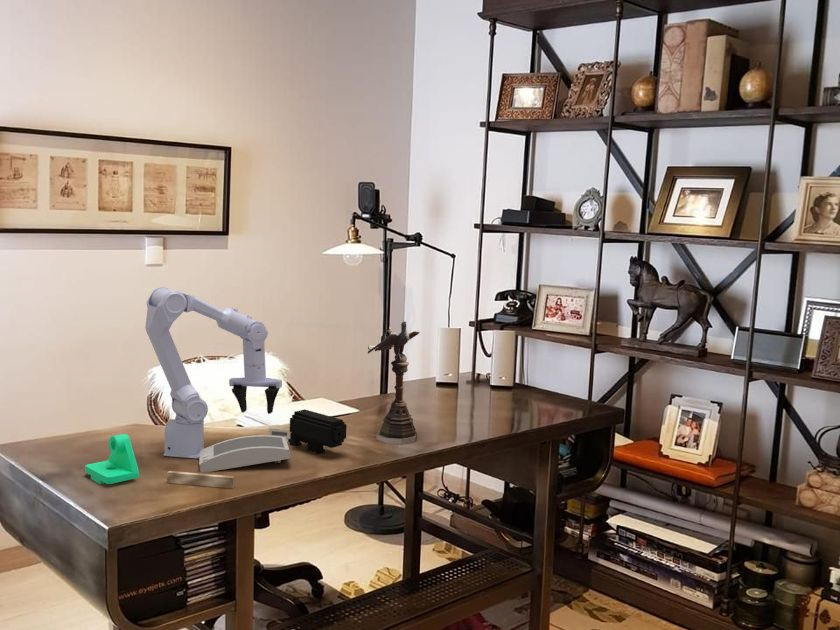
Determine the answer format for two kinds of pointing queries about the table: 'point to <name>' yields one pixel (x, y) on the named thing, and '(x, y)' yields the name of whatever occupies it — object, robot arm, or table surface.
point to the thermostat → (243, 452)
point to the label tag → (280, 433)
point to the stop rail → (200, 479)
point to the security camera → (316, 431)
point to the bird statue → (397, 392)
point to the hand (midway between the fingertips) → (257, 412)
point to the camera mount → (115, 463)
